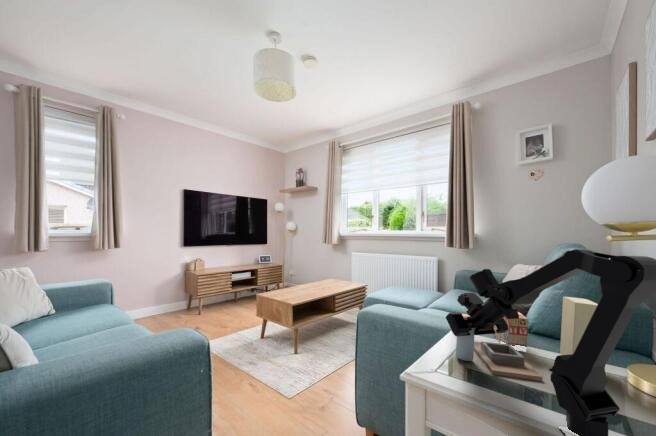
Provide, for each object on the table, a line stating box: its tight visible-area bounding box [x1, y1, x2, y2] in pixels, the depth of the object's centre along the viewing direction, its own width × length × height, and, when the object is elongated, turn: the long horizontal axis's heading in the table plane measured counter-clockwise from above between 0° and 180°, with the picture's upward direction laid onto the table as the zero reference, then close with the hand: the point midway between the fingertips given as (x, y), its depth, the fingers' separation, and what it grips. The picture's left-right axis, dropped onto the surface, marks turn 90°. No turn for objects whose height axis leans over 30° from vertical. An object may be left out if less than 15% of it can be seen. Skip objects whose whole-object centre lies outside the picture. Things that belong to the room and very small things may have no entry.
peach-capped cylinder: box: [455, 313, 475, 362], centre depth 87 cm, size 5×5×13 cm
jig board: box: [474, 340, 543, 382], centre depth 88 cm, size 20×13×4 cm, turn 170°
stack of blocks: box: [491, 311, 529, 348], centre depth 106 cm, size 21×6×12 cm, turn 170°
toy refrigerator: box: [559, 296, 598, 355], centre depth 86 cm, size 8×7×21 cm
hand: (462, 334), depth 88 cm, fingers closed on peach-capped cylinder, 5 cm apart
